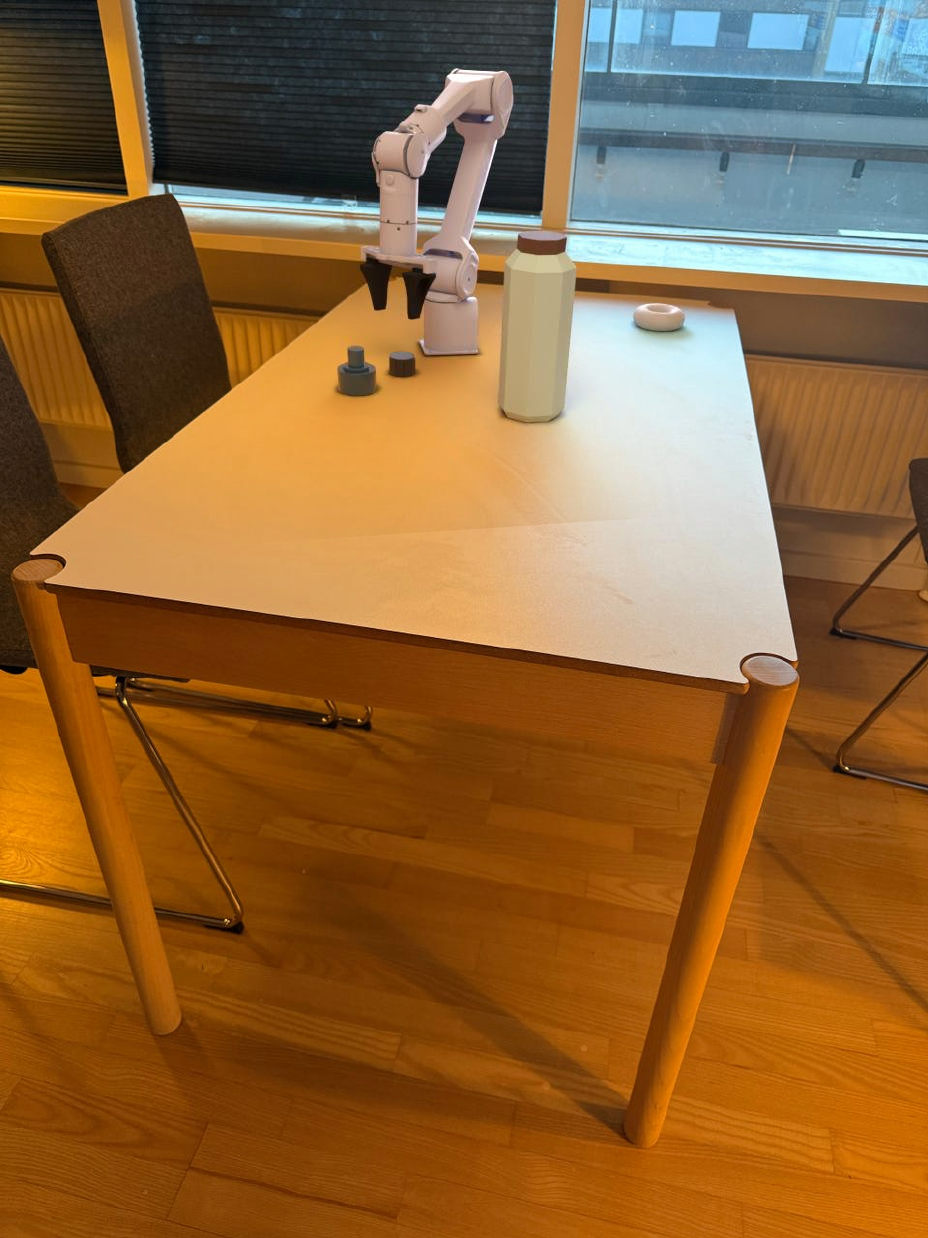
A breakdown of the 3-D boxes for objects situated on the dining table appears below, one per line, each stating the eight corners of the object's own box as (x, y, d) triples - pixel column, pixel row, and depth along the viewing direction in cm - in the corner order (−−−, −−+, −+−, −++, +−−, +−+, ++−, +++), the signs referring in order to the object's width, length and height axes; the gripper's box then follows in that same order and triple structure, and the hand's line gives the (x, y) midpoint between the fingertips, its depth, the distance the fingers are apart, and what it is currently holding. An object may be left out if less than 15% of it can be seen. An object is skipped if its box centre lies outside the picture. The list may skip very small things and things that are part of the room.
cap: (413, 367, 150) (412, 350, 148) (416, 376, 146) (416, 359, 144) (388, 368, 149) (387, 351, 147) (391, 377, 145) (390, 359, 144)
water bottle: (559, 428, 129) (575, 245, 115) (492, 421, 131) (499, 240, 117) (566, 403, 137) (582, 230, 123) (503, 397, 139) (511, 225, 125)
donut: (663, 317, 180) (621, 321, 176) (666, 299, 178) (624, 303, 174) (693, 331, 172) (651, 335, 168) (697, 312, 170) (654, 316, 166)
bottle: (374, 381, 143) (373, 341, 140) (378, 395, 139) (377, 353, 135) (337, 383, 143) (334, 342, 139) (339, 396, 138) (337, 354, 134)
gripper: (346, 216, 136) (347, 308, 143) (415, 229, 129) (412, 325, 136) (379, 214, 141) (378, 303, 148) (447, 226, 133) (443, 320, 140)
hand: (396, 314), depth 142 cm, fingers open, 7 cm apart
